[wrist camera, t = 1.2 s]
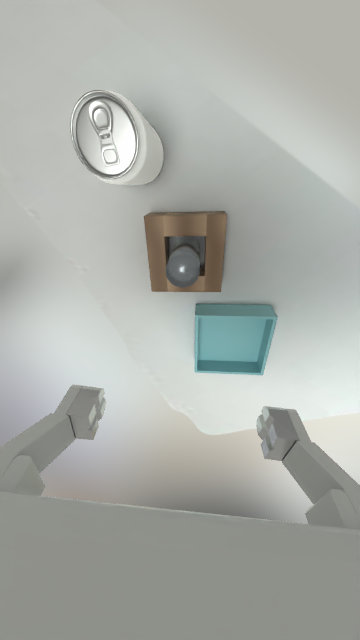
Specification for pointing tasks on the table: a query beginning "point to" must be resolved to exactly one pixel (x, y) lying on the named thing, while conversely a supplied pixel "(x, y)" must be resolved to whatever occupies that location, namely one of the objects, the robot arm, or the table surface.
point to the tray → (233, 338)
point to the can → (115, 139)
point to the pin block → (186, 225)
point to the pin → (184, 263)
